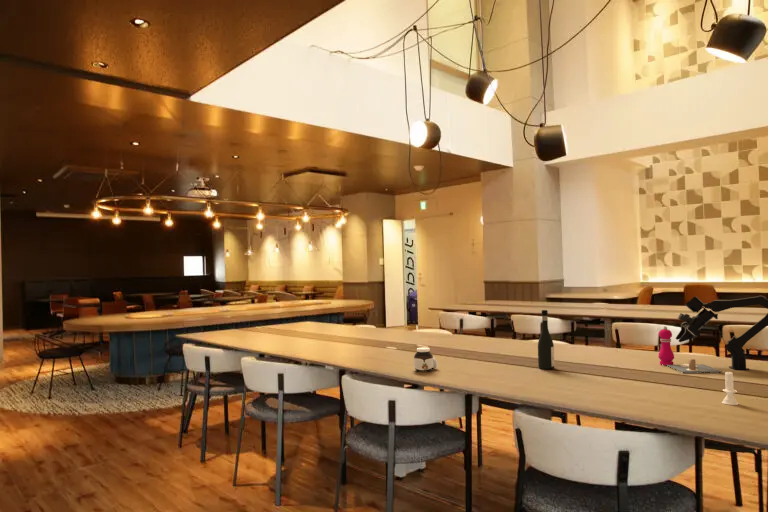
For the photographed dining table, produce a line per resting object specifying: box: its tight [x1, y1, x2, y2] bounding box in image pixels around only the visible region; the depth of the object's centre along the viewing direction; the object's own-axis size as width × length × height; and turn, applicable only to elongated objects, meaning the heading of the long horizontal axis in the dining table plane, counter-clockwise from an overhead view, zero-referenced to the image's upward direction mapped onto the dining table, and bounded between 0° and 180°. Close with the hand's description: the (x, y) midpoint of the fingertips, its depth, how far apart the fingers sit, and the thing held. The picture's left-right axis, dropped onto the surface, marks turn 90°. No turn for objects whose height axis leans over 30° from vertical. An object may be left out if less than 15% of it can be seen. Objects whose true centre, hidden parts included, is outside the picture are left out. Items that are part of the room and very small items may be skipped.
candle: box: [721, 371, 739, 406], centre depth 200 cm, size 5×5×12 cm
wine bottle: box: [537, 309, 555, 370], centre depth 275 cm, size 8×8×30 cm
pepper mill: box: [658, 325, 675, 365], centre depth 275 cm, size 7×7×20 cm
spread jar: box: [413, 346, 439, 372], centre depth 279 cm, size 12×11×12 cm
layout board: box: [666, 358, 723, 374], centre depth 261 cm, size 17×18×6 cm
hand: (677, 340), depth 273 cm, fingers open, 9 cm apart
